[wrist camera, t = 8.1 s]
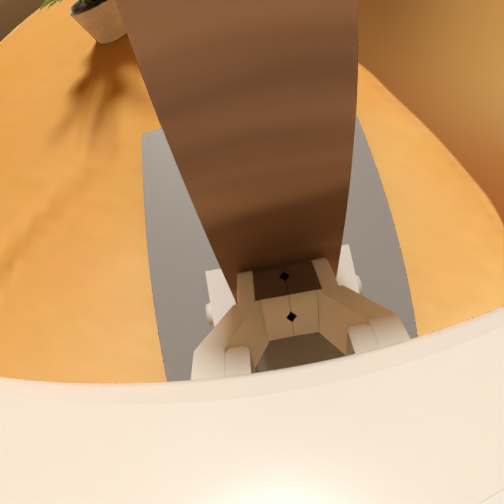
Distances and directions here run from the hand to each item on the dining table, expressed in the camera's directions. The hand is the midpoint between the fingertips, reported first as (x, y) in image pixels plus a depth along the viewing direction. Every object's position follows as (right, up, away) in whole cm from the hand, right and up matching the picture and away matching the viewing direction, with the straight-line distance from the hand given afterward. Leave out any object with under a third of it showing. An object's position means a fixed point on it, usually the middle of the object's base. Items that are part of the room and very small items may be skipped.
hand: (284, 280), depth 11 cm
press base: (+1, 0, +9) cm, 9 cm away
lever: (+1, -2, +6) cm, 6 cm away
